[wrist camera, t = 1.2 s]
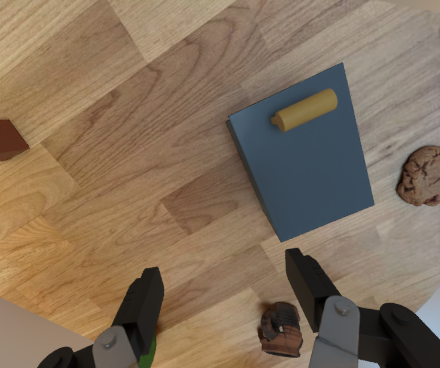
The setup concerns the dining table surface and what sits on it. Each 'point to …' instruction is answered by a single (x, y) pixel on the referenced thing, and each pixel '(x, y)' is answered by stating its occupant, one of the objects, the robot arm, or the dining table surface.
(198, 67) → the dining table surface
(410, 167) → the cookie
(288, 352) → the pottery mug
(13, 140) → the block
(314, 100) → the lid
